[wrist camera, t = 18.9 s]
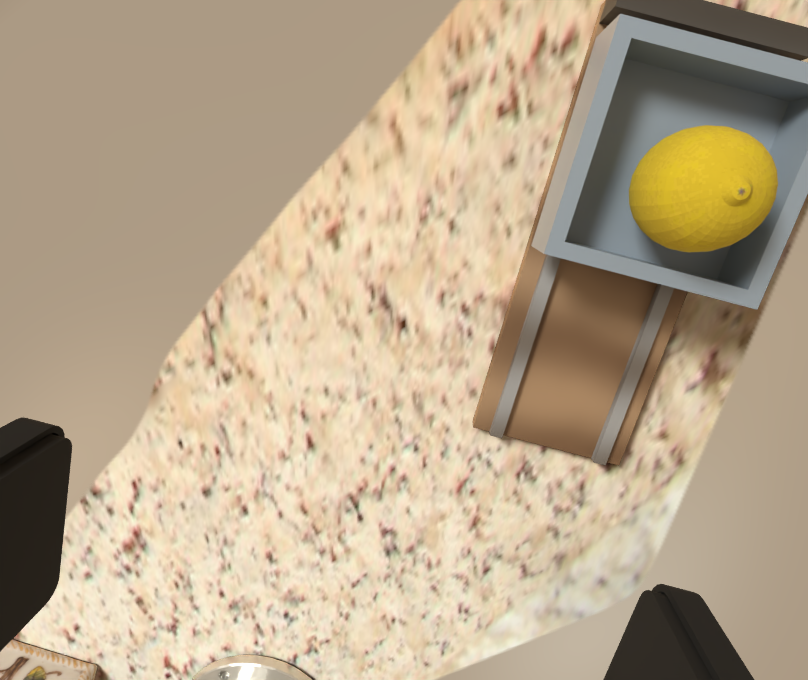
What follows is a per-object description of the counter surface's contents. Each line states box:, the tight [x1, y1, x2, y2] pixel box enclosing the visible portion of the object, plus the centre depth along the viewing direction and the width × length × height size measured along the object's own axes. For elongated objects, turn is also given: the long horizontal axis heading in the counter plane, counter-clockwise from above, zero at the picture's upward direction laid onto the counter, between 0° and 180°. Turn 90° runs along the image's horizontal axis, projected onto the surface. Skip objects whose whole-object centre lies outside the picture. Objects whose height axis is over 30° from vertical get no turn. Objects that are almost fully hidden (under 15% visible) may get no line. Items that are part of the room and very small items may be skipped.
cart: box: [531, 14, 808, 309], centre depth 29 cm, size 11×11×6 cm
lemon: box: [629, 125, 778, 252], centre depth 26 cm, size 6×6×8 cm
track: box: [473, 0, 808, 465], centre depth 33 cm, size 26×10×4 cm, turn 166°
